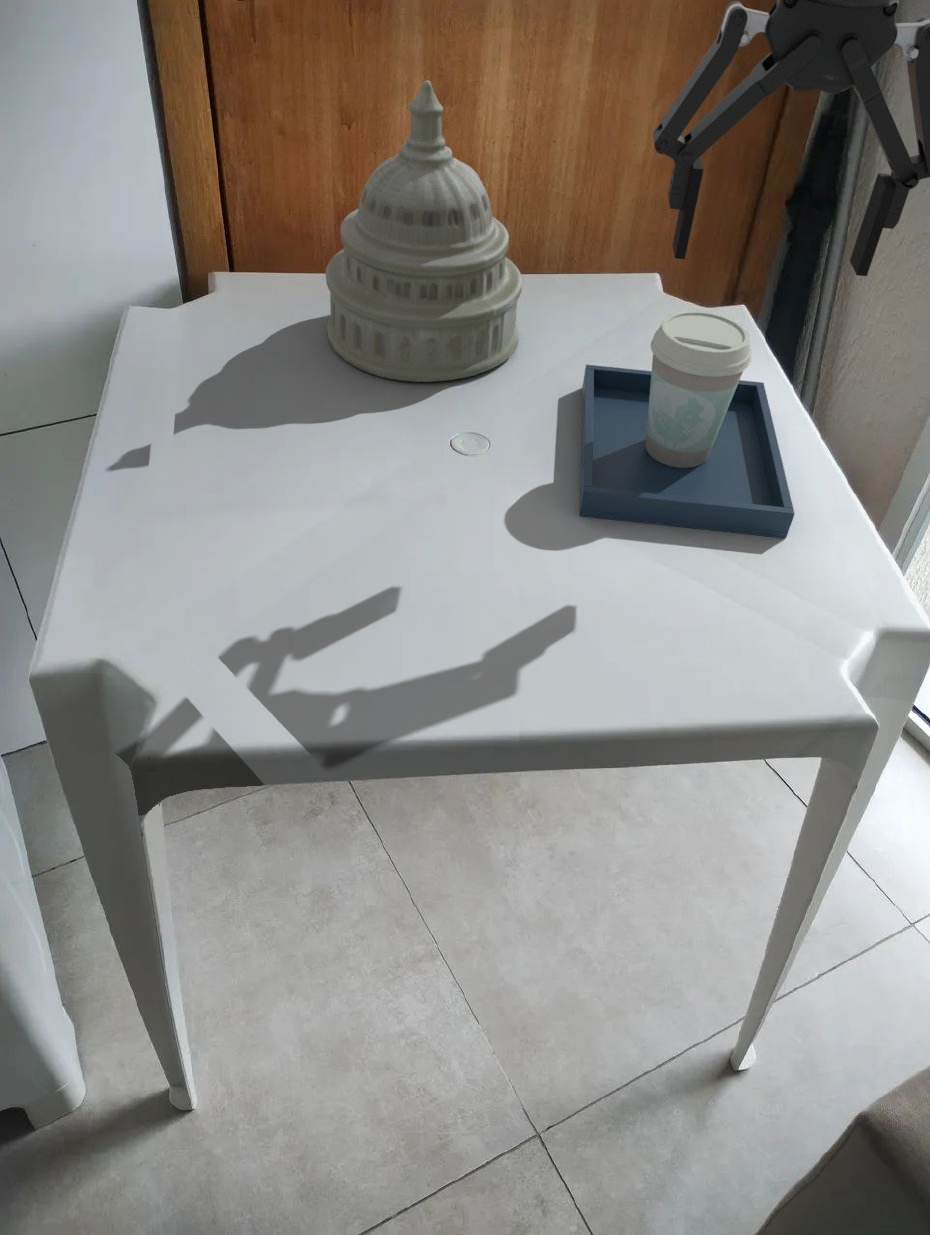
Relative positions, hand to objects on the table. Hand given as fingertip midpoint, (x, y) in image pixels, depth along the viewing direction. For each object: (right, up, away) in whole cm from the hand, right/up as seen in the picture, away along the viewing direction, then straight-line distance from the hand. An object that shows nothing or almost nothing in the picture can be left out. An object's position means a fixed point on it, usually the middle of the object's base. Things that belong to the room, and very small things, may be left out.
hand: (767, 260), depth 76 cm
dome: (-28, +3, +31) cm, 42 cm away
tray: (-4, -12, +17) cm, 21 cm away
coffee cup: (-3, -12, +17) cm, 21 cm away
